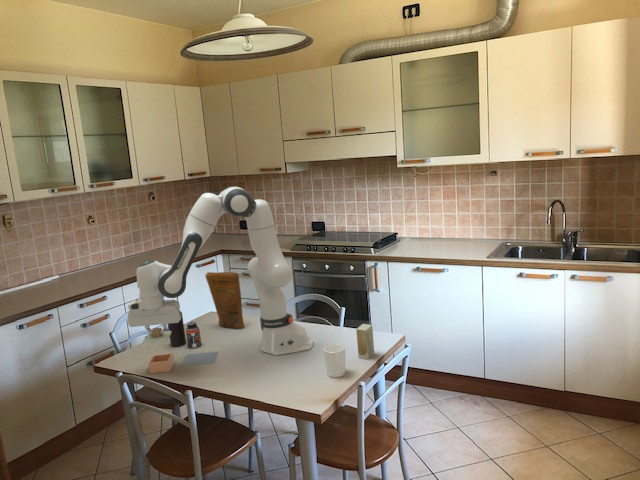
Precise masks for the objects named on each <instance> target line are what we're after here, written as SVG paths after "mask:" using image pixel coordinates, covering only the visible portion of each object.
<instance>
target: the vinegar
mask: <svg viewBox="0 0 640 480" xmlns="http://www.w3.org/2000/svg"><path fill="white" fill-rule="evenodd" d="M176 301H177V300H176ZM176 301H175V302H176ZM180 313H181V320H180V321H179V322H178V323H170V324H167V329H168V330H167V331H171V332H172V333H171V335H170V336H169V344H170V347H171V348H181V347H184V346H185V345H187V337H186V330H185V326H184V318H183V312H182V311H181V310H180Z"/></svg>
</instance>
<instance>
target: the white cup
mask: <svg viewBox="0 0 640 480" xmlns="http://www.w3.org/2000/svg"><path fill="white" fill-rule="evenodd" d="M323 355H324V363H325V368H326V374H327V376H328V377H330V378H340V377H344V376H345V375H346V347H345V345H344V344H339V343H334V344H333V343H331V344H327V345H326V346H324V348H323Z"/></svg>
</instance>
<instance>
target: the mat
mask: <svg viewBox="0 0 640 480" xmlns="http://www.w3.org/2000/svg"><path fill="white" fill-rule="evenodd" d="M219 353H220V352H219V350H218V351H208V352H199V353H187V354H185V356H184V358H183V360H182V362H181V363H180V365H179V367H180V368H181V367H189V366H199V365H201V366H202V365H212V364H215V363H216V361H217V358H218V356H219Z"/></svg>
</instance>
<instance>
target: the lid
mask: <svg viewBox="0 0 640 480" xmlns="http://www.w3.org/2000/svg"><path fill="white" fill-rule="evenodd" d="M161 329H162V327H154V328H152V329H151V330H152V336H149V333H148V334H147V335H146V336H145V338H144V339H143V340H142V344H152V343H153V344H154V343H164V342H168V340H169V339H170V335H171V333H172V332H171V331H169V330H166V331H165V334H164V335H160V330H161Z"/></svg>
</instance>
